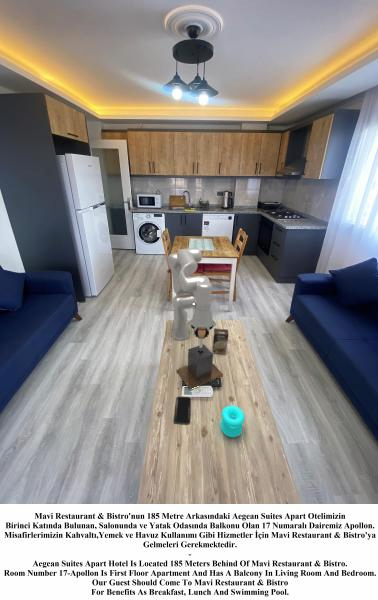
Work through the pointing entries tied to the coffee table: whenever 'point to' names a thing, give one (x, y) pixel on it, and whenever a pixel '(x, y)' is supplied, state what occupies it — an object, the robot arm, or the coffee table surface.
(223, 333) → the coffee box
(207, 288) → the robot arm
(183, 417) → the phone
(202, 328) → the plunger
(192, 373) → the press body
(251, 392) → the coffee table surface
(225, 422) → the donuts
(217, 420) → the coffee table surface
